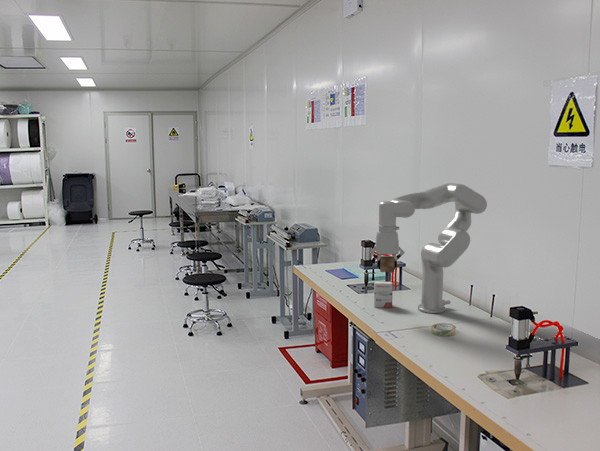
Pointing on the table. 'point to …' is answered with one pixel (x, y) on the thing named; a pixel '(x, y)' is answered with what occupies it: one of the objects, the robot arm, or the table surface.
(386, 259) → the walnut block
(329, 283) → the table surface
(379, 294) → the ink box
